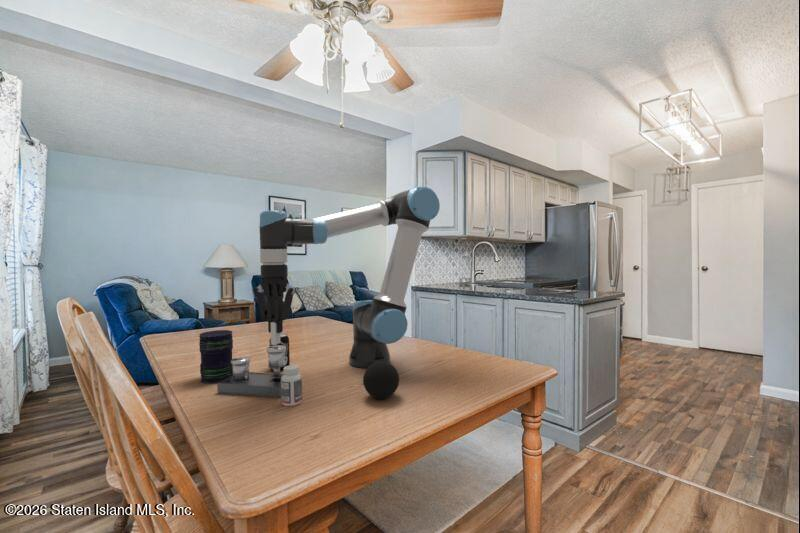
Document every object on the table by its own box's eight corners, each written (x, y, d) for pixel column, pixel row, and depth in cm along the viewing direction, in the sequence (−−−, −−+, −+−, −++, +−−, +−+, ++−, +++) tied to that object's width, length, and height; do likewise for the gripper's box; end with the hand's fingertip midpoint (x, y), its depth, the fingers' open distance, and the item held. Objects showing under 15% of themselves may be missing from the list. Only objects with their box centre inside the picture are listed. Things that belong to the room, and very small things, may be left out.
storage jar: (207, 386, 116) (205, 338, 115) (195, 379, 123) (194, 333, 122) (239, 377, 123) (238, 332, 123) (226, 371, 130) (225, 328, 129)
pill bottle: (300, 397, 106) (299, 363, 105) (304, 404, 101) (303, 368, 101) (280, 401, 103) (279, 365, 103) (283, 408, 99) (282, 371, 98)
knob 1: (254, 384, 116) (253, 356, 116) (243, 390, 111) (243, 361, 111) (239, 383, 118) (238, 356, 117) (227, 389, 112) (226, 360, 112)
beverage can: (292, 366, 135) (291, 333, 135) (285, 371, 129) (284, 337, 129) (275, 365, 136) (274, 332, 136) (266, 371, 130) (266, 337, 129)
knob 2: (289, 373, 114) (289, 345, 113) (280, 379, 109) (279, 349, 108) (273, 372, 115) (272, 344, 115) (263, 378, 110) (262, 349, 109)
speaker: (402, 391, 109) (402, 357, 109) (395, 405, 99) (394, 368, 99) (369, 389, 111) (368, 356, 111) (358, 403, 101) (358, 366, 101)
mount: (298, 384, 116) (298, 374, 116) (279, 397, 106) (279, 386, 106) (241, 380, 121) (240, 370, 121) (217, 393, 110) (217, 382, 110)
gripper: (300, 263, 113) (302, 341, 114) (261, 263, 116) (263, 340, 116) (288, 264, 105) (289, 347, 106) (246, 264, 108) (248, 345, 109)
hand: (275, 343), depth 111 cm, fingers closed
